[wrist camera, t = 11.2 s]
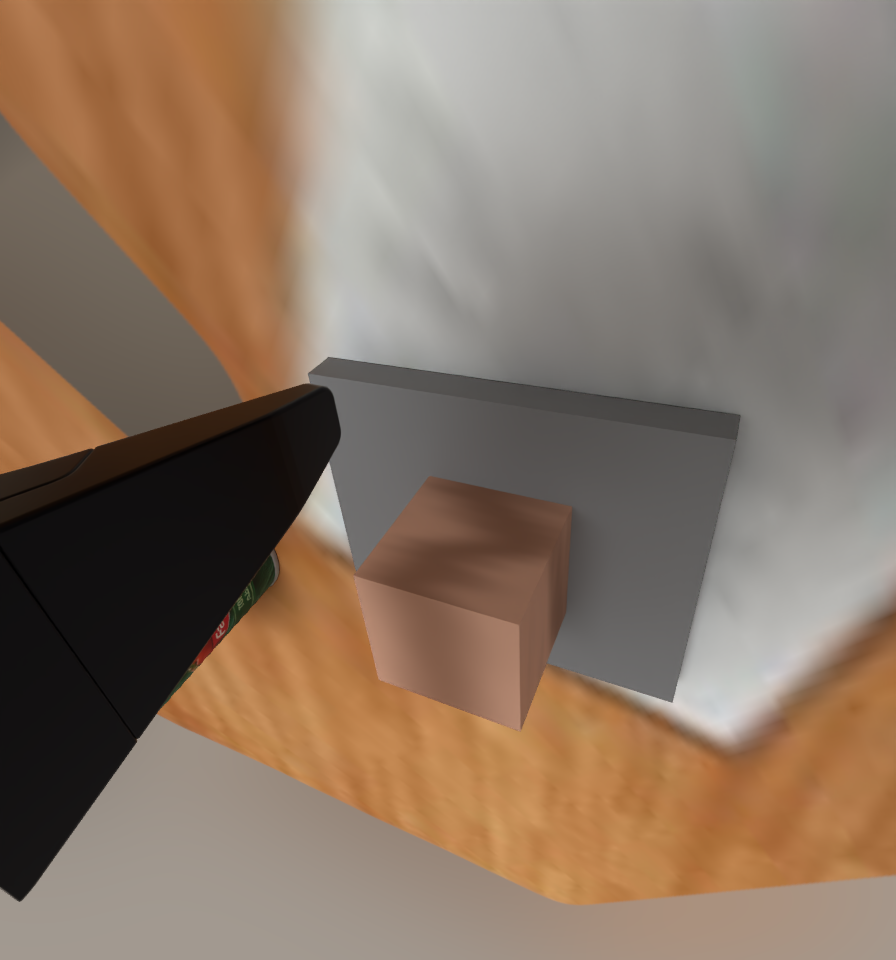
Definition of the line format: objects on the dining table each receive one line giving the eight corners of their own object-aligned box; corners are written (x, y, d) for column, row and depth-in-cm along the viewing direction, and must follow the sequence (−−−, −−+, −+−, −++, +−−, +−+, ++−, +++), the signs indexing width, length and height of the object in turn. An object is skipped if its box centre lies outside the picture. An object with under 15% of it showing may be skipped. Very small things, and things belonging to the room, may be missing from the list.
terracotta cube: (572, 506, 23) (518, 625, 19) (566, 612, 27) (520, 731, 22) (429, 475, 25) (353, 575, 21) (441, 577, 29) (378, 679, 25)
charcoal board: (740, 415, 20) (736, 440, 19) (677, 675, 28) (672, 702, 27) (328, 357, 26) (307, 373, 25) (378, 586, 34) (364, 605, 33)
